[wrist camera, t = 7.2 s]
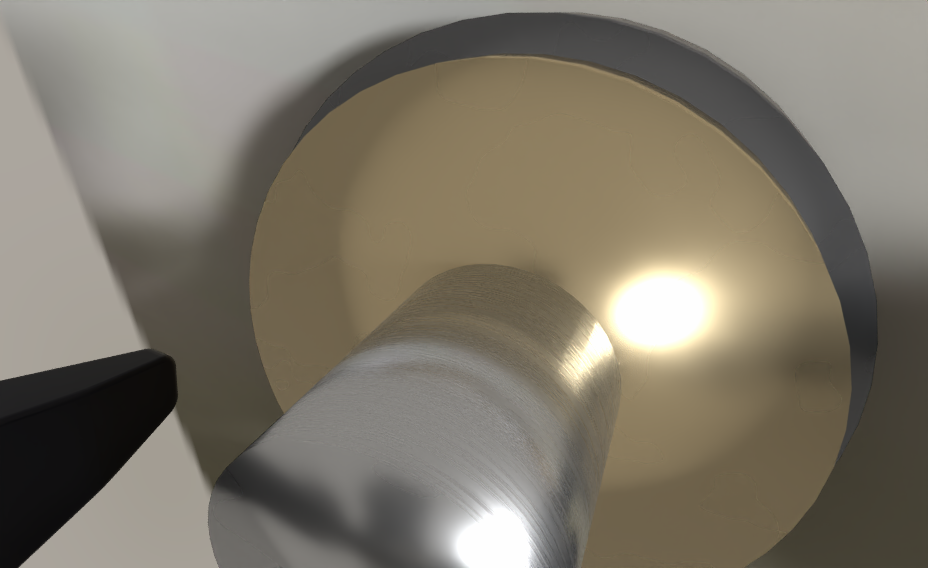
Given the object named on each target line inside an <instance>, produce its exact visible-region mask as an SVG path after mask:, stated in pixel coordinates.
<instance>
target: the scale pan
mask: <svg viewBox="0 0 928 568" xmlns="http://www.w3.org/2000/svg"><path fill="white" fill-rule="evenodd" d="M474 264H497V265H504V266H511V267H514V268H518V269H522V270H526V271H528V272H531V273H533V274H536V275H538V276H541V277H543V278H545V279H547V280H549V281H551V282H552V283H554V284H556V285H558V286H559V287H561V288H562V289H564V290H565V291H566V292H568V293H569V294H571V295H572V296H573V297H574V298H576V299H577V300H578V301H579V302H580V303H581V304H582V305H583V306H584V307H585V308H586V309H587V310H588V311H589V312H590V313H591V314H592V315H593V317H594V318H595V319H596V320H597V322H598V323H599V324H600V326H601V327H602V329H603V330H604V332H605V333H606V335H607V337H608V339H609V341H610V343H611V345H612V347H613V349H614V352H615V355H616V358H617V361H618V365H619V370H620V375H621V400H620V407H619V411H618V415H617V419H616V423H615V427H614V432H613V436H612V440H611V444H610V448H609V452H608V457H607V461H606V465H605V469H604V473H603V477H602V482H601V486H600V490H599V494H598V498H597V502H596V506H595V511H594V515H593V519H592V523H591V527H590V531H589V536H588V540H587V544H586V548H585V552H584V556H583V561H582V565H581V568H744V567H745V566H747V565H748V564H750V563H751V562H753V561H755V560H756V559H758V558H759V557H761V556H762V555H764V554H765V553H767V552H768V551H769V550H770V549H771V548H772V547H773V546H775V545H776V544H777V543H778V542H779V541H780V540H781V539H782V538H784V537H785V536H786V535H787V534H788V533H789V532H790V531H791V530H793V528H794V527H795V526H796V525H797V523H798V522H799V521H800V520H801V518H802V517H803V516H804V515H805V513H806V512H807V511H808V510H809V508H810V507H811V506H812V505H813V503H814V502H815V501H816V499H817V497H818V495H819V494H820V492H821V490H822V488H823V486H824V485H825V483H826V481H827V479H828V477H829V475H830V474H831V472H832V470H833V468H834V465H835V462H836V459H837V456H838V453H839V450H840V447H841V444H842V441H843V438H844V435H845V432H846V427H847V420H848V413H849V405H850V398H851V391H852V386H851V362H850V345H849V340H848V335H847V331H846V326H845V322H844V317H843V313H842V308H841V304H840V300H839V297H838V295H837V293H836V290H835V288H834V285H833V283H832V280H831V278H830V275H829V273H828V270H827V268H826V265H825V263H824V260H823V258H822V255H821V253H820V251H819V249H818V246H817V244H816V242H815V239H814V237H813V235H812V233H811V231H810V229H809V228H808V226H807V224H806V223H805V221H804V219H803V218H802V216H801V214H800V213H799V211H798V209H797V208H796V206H795V204H794V203H793V201H792V199H791V198H790V196H789V194H788V193H787V192H786V190H785V189H784V188H783V187H782V186H781V184H780V183H779V182H778V181H777V180H776V178H775V177H774V176H773V175H772V174H771V172H770V171H769V170H768V169H767V168H766V166H765V165H764V164H763V163H762V162H761V160H760V159H759V158H758V157H757V156H756V155H755V154H754V153H753V152H752V151H751V150H749V149H748V148H747V147H746V146H745V145H744V144H743V143H742V142H741V141H739V140H738V139H737V138H736V137H735V136H734V135H733V134H732V133H730V132H729V131H728V130H727V129H726V128H725V127H724V126H723V125H722V124H720V123H719V122H717V121H716V120H714V119H713V118H711V117H710V116H708V115H707V114H705V113H704V112H702V111H701V110H699V109H698V108H696V107H695V106H693V105H692V104H690V103H689V102H687V101H686V100H684V99H683V98H681V97H679V96H677V95H675V94H673V93H671V92H669V91H667V90H665V89H663V88H661V87H659V86H656V85H654V84H652V83H650V82H648V81H646V80H644V79H642V78H640V77H638V76H635V75H632V74H629V73H625V72H622V71H619V70H616V69H613V68H610V67H606V66H603V65H600V64H597V63H594V62H590V61H584V60H578V59H572V58H566V57H559V56H553V55H547V54H506V53H501V54H493V55H486V56H478V57H470V58H462V59H457V60H451V61H446V62H441V63H436V64H432V65H429V66H425V67H422V68H418V69H415V70H411V71H408V72H404V73H401V74H397V75H395V76H393V77H391V78H388V79H386V80H384V81H382V82H380V83H378V84H376V85H373V86H371V87H369V88H367V89H365V90H363V91H361V92H359V93H358V94H356V95H355V96H353V97H352V98H350V99H349V100H347V101H346V102H344V103H343V104H341V105H340V106H338V107H337V108H336V109H334V110H333V111H331V112H330V113H329V114H327V115H326V116H325V117H324V118H323V119H322V120H321V121H320V122H319V123H318V124H317V125H316V126H315V127H314V128H313V129H312V130H311V131H310V132H308V133H307V134H306V135H305V136H304V137H303V139H302V140H301V141H300V143H299V144H298V145H297V147H296V148H295V149H294V150H293V152H292V153H291V154H290V156H289V157H288V158H287V160H286V161H285V162H284V164H283V165H282V167H281V169H280V171H279V173H278V175H277V176H276V178H275V180H274V182H273V184H272V186H271V188H270V189H269V191H268V194H267V196H266V199H265V202H264V205H263V207H262V210H261V213H260V216H259V219H258V221H257V226H256V231H255V236H254V240H253V245H252V250H251V261H250V276H249V290H250V307H251V316H252V322H253V328H254V333H255V339H256V343H257V347H258V350H259V354H260V357H261V361H262V364H263V367H264V371H265V373H266V376H267V378H268V380H269V383H270V385H271V388H272V390H273V393H274V395H275V398H276V400H277V402H278V403H279V405H280V407H281V409H282V411H283V413H285V412H286V411H288V410H289V409H290V408H291V407H292V406H293V405H294V404H295V403H296V402H297V401H298V400H299V399H300V398H301V397H303V396H304V395H305V394H306V393H307V392H308V391H309V390H310V389H311V388H312V387H313V386H314V385H315V384H316V383H318V382H319V381H320V380H321V379H322V378H323V377H324V376H325V375H326V374H327V373H328V372H329V371H330V370H331V369H332V368H334V367H335V366H336V365H337V364H338V363H339V362H340V361H341V360H342V359H343V358H344V357H345V356H346V355H347V354H349V353H350V352H351V351H352V350H353V349H354V348H355V347H356V346H357V345H358V344H359V343H360V342H361V341H362V340H364V339H365V338H366V337H367V336H368V335H369V334H370V333H371V332H372V331H373V330H374V329H375V328H376V327H377V326H379V325H380V324H381V323H382V322H383V321H384V320H385V319H386V318H387V317H388V316H389V315H390V314H391V313H392V312H394V311H395V310H396V309H397V308H398V307H399V306H400V305H401V304H402V303H403V302H404V301H405V300H406V299H407V298H409V297H410V296H411V295H412V294H413V293H414V292H415V291H416V290H417V289H418V288H419V287H421V286H422V285H423V284H424V283H425V282H427V281H428V280H430V279H431V278H433V277H435V276H436V275H438V274H440V273H443V272H445V271H447V270H450V269H453V268H457V267H461V266H466V265H474Z"/></svg>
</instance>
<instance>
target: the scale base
mask: <svg viewBox="0 0 928 568" xmlns="http://www.w3.org/2000/svg"><path fill="white" fill-rule="evenodd" d="M501 53H506V54H547V55H553V56H559V57H566V58H572V59H578V60H584V61H590V62H594V63H597V64H600V65H603V66H606V67H610V68H613V69H616V70H619V71H622V72H625V73H629V74H632V75H635V76H638V77H640V78H642V79H644V80H646V81H648V82H650V83H652V84H654V85H656V86H659V87H661V88H663V89H665V90H667V91H669V92H671V93H673V94H675V95H677V96H679V97H681V98H683V99H684V100H686V101H687V102H689V103H690V104H692V105H693V106H695V107H696V108H698V109H699V110H701V111H702V112H704V113H705V114H707V115H708V116H710V117H711V118H713V119H714V120H716V121H717V122H719V123H720V124H722V125H723V126H724V127H725V128H726V129H727V130H728V131H729V132H730V133H732V134H733V135H734V136H735V137H736V138H737V139H738V140H739V141H741V142H742V143H743V144H744V145H745V146H746V147H747V148H748V149H749V150H751V151H752V152H753V153H754V154H755V155H756V156H757V157H758V158H759V159H760V160H761V162H762V163H763V164H764V165H765V166H766V168H767V169H768V170H769V171H770V172H771V174H772V175H773V176H774V177H775V178H776V180H777V181H778V182H779V183H780V184H781V186H782V187H783V188H784V189H785V190H786V192H787V193H788V194H789V196H790V198H791V199H792V201H793V203H794V204H795V206H796V208H797V209H798V211H799V213H800V214H801V216H802V218H803V219H804V221H805V223H806V224H807V226H808V228H809V229H810V231H811V233H812V235H813V237H814V239H815V242H816V244H817V246H818V249H819V251H820V253H821V255H822V258H823V260H824V263H825V265H826V268H827V270H828V273H829V275H830V278H831V280H832V283H833V285H834V288H835V290H836V293H837V295H838V297H839V300H840V304H841V308H842V313H843V317H844V322H845V326H846V331H847V335H848V340H849V345H850V362H851V386H852V391H851V398H850V405H849V413H848V420H847V427H846V432H845V435H844V438H843V441H842V444H841V447H840V450H839V453H838V456H837V459H836V462H835V464H836V463H837V461H838V460H839V459H840V457H841V455H842V453H843V451H844V450H845V448H846V446H847V444H848V442H849V440H850V439H851V437H852V435H853V433H854V431H855V429H856V428H857V426H858V424H859V421H860V418H861V415H862V412H863V409H864V406H865V403H866V400H867V397H868V394H869V391H870V388H871V384H872V378H873V371H874V364H875V358H876V351H877V345H878V339H877V300H876V294H875V289H874V284H873V280H872V275H871V270H870V265H869V260H868V255H867V251H866V249H865V246H864V244H863V241H862V238H861V236H860V233H859V231H858V228H857V225H856V223H855V220H854V218H853V215H852V213H851V210H850V207H849V206H848V204H847V202H846V201H845V199H844V197H843V195H842V194H841V192H840V190H839V189H838V187H837V185H836V184H835V182H834V180H833V178H832V177H831V175H830V173H829V172H828V170H827V168H826V167H825V165H824V163H823V162H822V160H821V159H820V158H819V156H818V155H817V153H816V152H815V151H814V149H813V148H812V146H811V145H810V144H809V142H808V141H807V139H806V138H805V137H804V136H803V135H802V133H801V132H800V131H799V130H798V129H797V127H796V126H795V125H794V124H793V122H792V121H791V120H790V119H789V118H788V116H787V115H786V114H785V113H784V111H783V110H782V109H781V108H780V107H779V105H778V104H777V103H775V102H774V101H773V100H772V99H771V98H770V97H769V96H768V95H766V94H765V93H764V92H763V91H762V90H761V89H760V88H759V87H758V86H756V85H755V84H754V83H753V82H752V81H751V80H750V79H749V78H747V77H746V76H745V75H744V74H742V73H741V72H739V71H738V70H736V69H735V68H733V67H732V66H730V65H729V64H727V63H726V62H724V61H723V60H721V59H720V58H718V57H716V56H715V55H713V54H712V53H710V52H709V51H707V50H705V49H703V48H701V47H699V46H697V45H695V44H692V43H690V42H688V41H686V40H684V39H682V38H679V37H677V36H675V35H673V34H671V33H669V32H666V31H664V30H660V29H657V28H653V27H650V26H647V25H643V24H640V23H636V22H633V21H630V20H626V19H622V18H615V17H608V16H601V15H594V14H587V13H505V14H499V15H492V16H486V17H479V18H473V19H467V20H462V21H458V22H455V23H452V24H449V25H446V26H443V27H439V28H436V29H433V30H430V31H427V32H424V33H421V34H419V35H417V36H415V37H413V38H411V39H409V40H407V41H405V42H403V43H401V44H399V45H397V46H395V47H393V48H391V49H389V50H387V51H385V52H383V53H382V54H380V55H379V56H378V57H376V58H375V59H373V60H372V61H370V62H369V63H368V64H366V65H365V66H363V67H362V68H361V69H359V70H358V71H356V72H355V73H353V74H352V75H351V76H350V77H349V78H348V79H347V80H346V81H345V82H344V83H343V84H342V85H341V86H340V87H339V88H338V89H337V90H336V91H335V92H334V93H333V94H332V95H331V96H330V97H329V98H328V99H327V100H326V101H325V102H324V104H323V105H322V106H321V108H320V109H319V110H318V112H317V113H316V114H315V116H314V117H313V118H312V120H311V121H310V122H309V124H308V125H307V126H306V128H305V129H304V131H303V133H302V135H301V137H300V139H299V140H298V142H297V144H296V146H295V148H296V147H297V145H298V144H299V143H300V141H301V140H302V139H303V137H304V136H305V135H306V134H307V133H308V132H310V131H311V130H312V129H313V128H314V127H315V126H316V125H317V124H318V123H319V122H320V121H321V120H322V119H323V118H324V117H325V116H326V115H327V114H329V113H330V112H331V111H333V110H334V109H336V108H337V107H338V106H340V105H341V104H343V103H344V102H346V101H347V100H349V99H350V98H352V97H353V96H355V95H356V94H358V93H359V92H361V91H363V90H365V89H367V88H369V87H371V86H373V85H376V84H378V83H380V82H382V81H384V80H386V79H388V78H391V77H393V76H395V75H397V74H401V73H404V72H408V71H411V70H415V69H418V68H422V67H425V66H429V65H432V64H436V63H441V62H446V61H451V60H457V59H462V58H470V57H478V56H486V55H493V54H501ZM295 148H294V149H295ZM292 152H293V151H292Z"/></svg>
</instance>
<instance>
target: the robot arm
mask: <svg viewBox="0 0 928 568" xmlns="http://www.w3.org/2000/svg"><path fill="white" fill-rule="evenodd" d="M177 398H178V390H177V376H176V364H175V361H174V359H173V358H172V357H170V356H168V355H166V354H164V353H162V352H159V351H157V350H154V349H143V350H139V351H135V352H130V353H126V354H121V355H116V356H112V357H107V358H102V359H98V360H93V361H89V362H84V363H80V364H76V365H70V366H66V367H62V368H57V369H52V370H48V371H43V372H38V373H34V374H29V375H25V376H20V377H16V378H11V379H6V380H2V381H0V568H19V567H20V566H21V564H23V563H24V562H25V561H26V560H27V559H28V558H29V557H30V556H31V555H32V554H33V553H35V551H37V550H38V549H39V548H40V547H41V546H42V545H43V544H44V543H45V542H46V541H47V540H48V539H49V538H51V536H53V535H54V534H55V533H56V532H57V531H58V530H59V529H60V528H61V527H62V526H63V525H64V524H65V523H66V522H67V521H69V520H70V519H71V518H72V517H73V516H74V515H75V514H76V513H77V512H78V511H79V510H80V509H81V508H82V507H84V506H85V504H87V503H88V502H89V501H90V500H91V499H92V498H93V497H94V496H95V495H96V494H97V493H98V492H99V491H100V490H101V489H102V488H103V487H104V486H105V485H106V484H107V483H108V482H109V481H110V480H111V479H112V478H113V477H114V475H115V474H116V473H117V472H118V471H119V470H120V469H121V468H122V467H123V466H124V464H125V463H126V462H127V461H128V460H129V459H130V458H131V457H132V455H133V454H134V453H135V452H136V451H137V449H139V447H140V446H141V445H142V444H143V443H144V442H145V441H146V440H147V439H148V437H149V436H150V435H151V434H152V433H153V432H154V431H155V429H156V428H157V427H158V426H159V425H160V424H161V423H162V422H163V421H164V419H165V418H166V417H167V416H168V415H169V414H170V413H171V411H172V410H173V408H174V407H175V405H176V402H177Z"/></svg>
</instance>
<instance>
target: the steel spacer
mask: <svg viewBox="0 0 928 568" xmlns="http://www.w3.org/2000/svg"><path fill="white" fill-rule="evenodd" d="M620 400H621V375H620V370H619V365H618V361H617V358H616V355H615V352H614V349H613V347H612V345H611V343H610V341H609V339H608V337H607V335H606V333H605V332H604V330H603V329H602V327H601V326H600V324H599V323H598V322H597V320H596V319H595V318H594V317H593V315H592V314H591V313H590V312H589V311H588V310H587V309H586V308H585V307H584V306H583V305H582V304H581V303H580V302H579V301H578V300H577V299H576V298H574V297H573V296H572V295H571V294H569V293H568V292H566V291H565V290H564V289H562V288H561V287H559V286H558V285H556V284H554V283H552V282H551V281H549V280H547V279H545V278H543V277H541V276H538V275H536V274H533V273H531V272H528V271H526V270H522V269H518V268H514V267H511V266H504V265H497V264H474V265H466V266H461V267H457V268H453V269H450V270H447V271H445V272H443V273H440V274H438V275H436V276H435V277H433V278H431V279H430V280H428V281H427V282H425V283H424V284H423V285H422V286H421V287H419V288H418V289H417V290H416V291H415V292H414V293H413V294H412V295H411V296H410V297H409V298H407V299H406V300H405V301H404V302H403V303H402V304H401V305H400V306H399V307H398V308H397V309H396V310H395V311H394V312H392V313H391V314H390V315H389V316H388V317H387V318H386V319H385V320H384V321H383V322H382V323H381V324H380V325H379V326H377V327H376V328H375V329H374V330H373V331H372V332H371V333H370V334H369V335H368V336H367V337H366V338H365V339H364V340H362V341H361V342H360V343H359V344H358V345H357V346H356V347H355V348H354V349H353V350H352V351H351V352H350V353H349V354H347V355H346V356H345V357H344V358H343V359H342V360H341V361H340V362H339V363H338V364H337V365H336V366H335V367H334V368H332V369H331V370H330V371H329V372H328V373H327V374H326V375H325V376H324V377H323V378H322V379H321V380H320V381H319V382H318V383H316V384H315V385H314V386H313V387H312V388H311V389H310V390H309V391H308V392H307V393H306V394H305V395H304V396H303V397H301V398H300V399H299V400H298V401H297V402H296V403H295V404H294V405H293V406H292V407H291V408H290V409H289V410H288V411H286V412H285V413H284V414H283V415H282V416H281V417H280V418H279V419H278V420H277V421H276V422H275V423H274V424H273V425H271V426H270V427H269V428H268V429H267V430H266V431H265V432H264V433H263V434H262V435H261V436H260V437H259V438H258V439H256V440H255V441H254V442H253V443H252V444H251V445H250V446H249V447H248V448H247V449H246V450H245V451H244V452H243V453H241V454H240V455H239V456H238V457H237V458H236V459H235V460H234V461H233V462H232V463H231V464H230V465H229V466H228V467H226V469H225V470H224V471H223V473H222V474H221V475H220V477H219V478H218V480H217V482H216V484H215V486H214V489H213V491H212V494H211V498H210V503H209V511H208V526H209V535H210V540H211V544H212V548H213V552H214V556H215V558H216V561H217V564H218V566H219V568H581V565H582V561H583V556H584V552H585V548H586V544H587V540H588V536H589V531H590V527H591V523H592V519H593V515H594V511H595V506H596V502H597V498H598V494H599V490H600V486H601V482H602V477H603V473H604V469H605V465H606V461H607V457H608V452H609V448H610V444H611V440H612V436H613V432H614V427H615V423H616V419H617V415H618V411H619V407H620Z"/></svg>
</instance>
